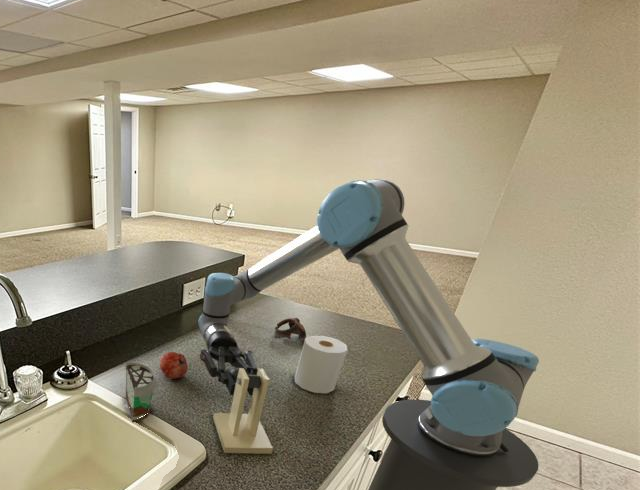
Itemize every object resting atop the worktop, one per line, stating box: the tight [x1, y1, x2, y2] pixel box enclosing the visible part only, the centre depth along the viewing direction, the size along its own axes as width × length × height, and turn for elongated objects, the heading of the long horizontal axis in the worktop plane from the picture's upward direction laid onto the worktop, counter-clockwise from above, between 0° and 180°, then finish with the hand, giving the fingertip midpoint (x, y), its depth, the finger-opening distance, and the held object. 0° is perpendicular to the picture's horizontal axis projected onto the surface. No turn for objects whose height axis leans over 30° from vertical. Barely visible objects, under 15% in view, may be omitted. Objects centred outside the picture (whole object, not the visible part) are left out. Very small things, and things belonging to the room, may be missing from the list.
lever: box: [229, 367, 260, 388], centre depth 88 cm, size 14×4×4 cm, turn 1°
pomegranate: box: [159, 351, 189, 380], centre depth 109 cm, size 7×7×10 cm
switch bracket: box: [212, 368, 274, 455], centre depth 85 cm, size 12×10×16 cm
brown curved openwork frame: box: [273, 317, 307, 346], centre depth 132 cm, size 12×10×8 cm
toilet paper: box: [294, 335, 348, 394], centre depth 106 cm, size 10×10×12 cm
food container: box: [125, 361, 158, 423], centre depth 94 cm, size 12×6×10 cm, turn 9°
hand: (242, 390), depth 88 cm, fingers closed on lever, 4 cm apart
